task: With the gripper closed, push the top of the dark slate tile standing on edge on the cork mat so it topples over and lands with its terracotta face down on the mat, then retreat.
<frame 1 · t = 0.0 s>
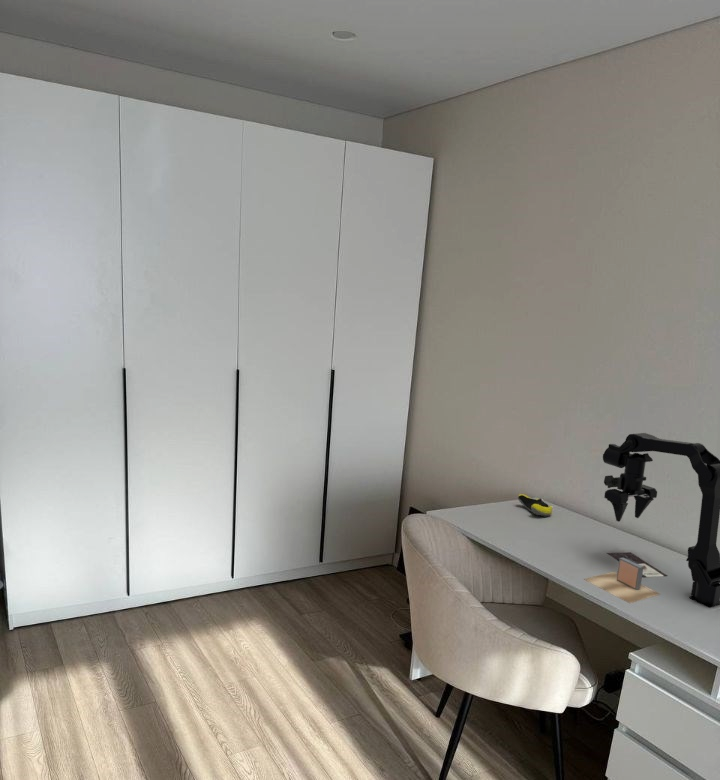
hand: (627, 519, 207), 15 cm above the table, tool pointing down, fingers open, 9 cm apart
chocolate bar: (635, 567, 209), on the table
tile: (628, 584, 193), resting on mat
black and yellow shoe: (535, 512, 254), on the table
mat: (621, 587, 191), on the table
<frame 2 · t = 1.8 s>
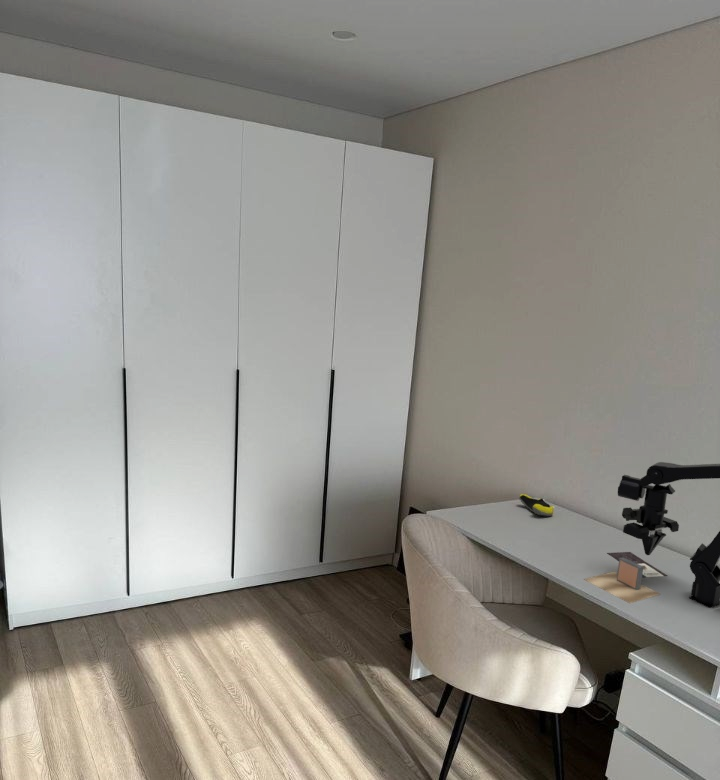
hand: (647, 554, 195), 9 cm above the table, tool pointing down, fingers closed
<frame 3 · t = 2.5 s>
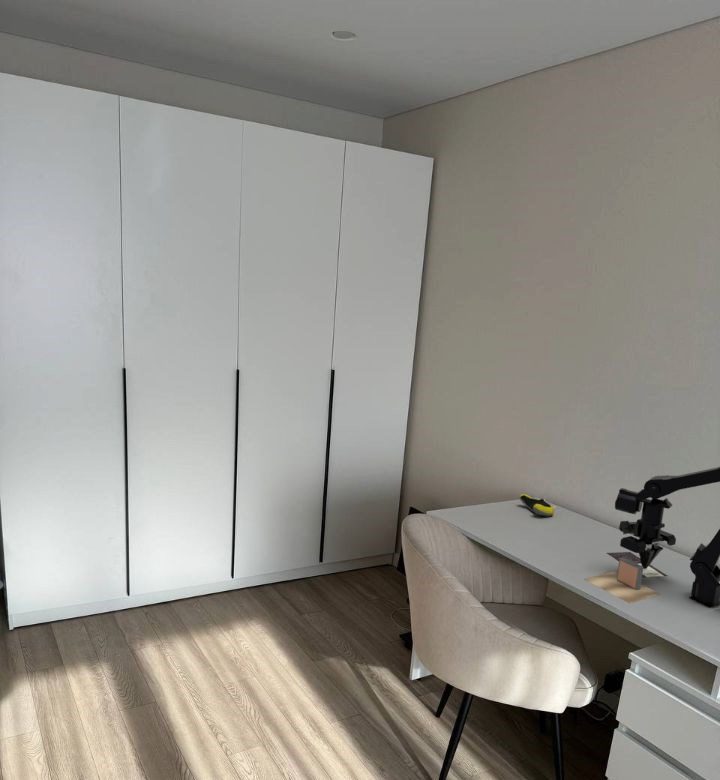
hand: (644, 568, 195), 5 cm above the table, tool pointing down, fingers closed
nothing on the table moved.
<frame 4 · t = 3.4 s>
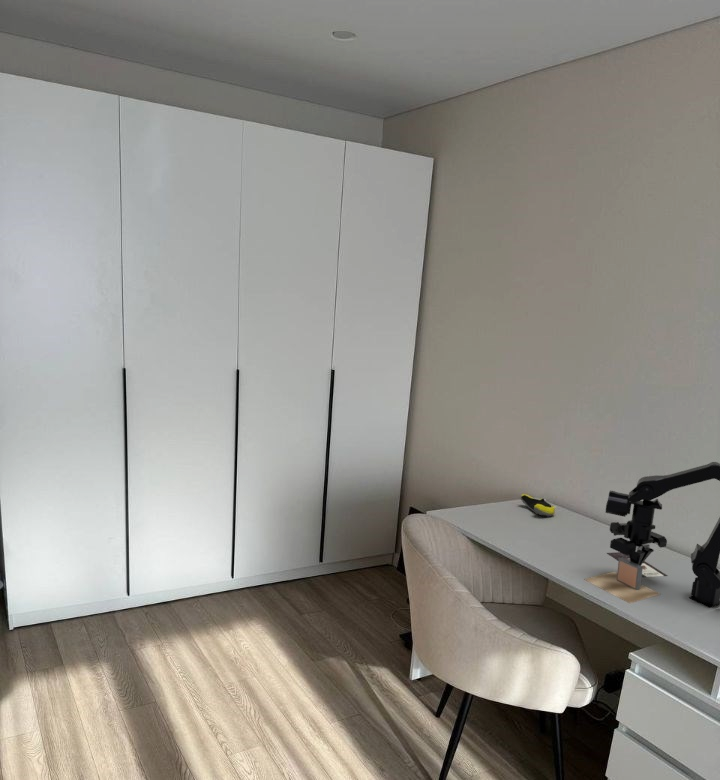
hand: (634, 570, 193), 5 cm above the table, tool pointing down, fingers closed
tile: (628, 584, 193), resting on mat, touching gripper
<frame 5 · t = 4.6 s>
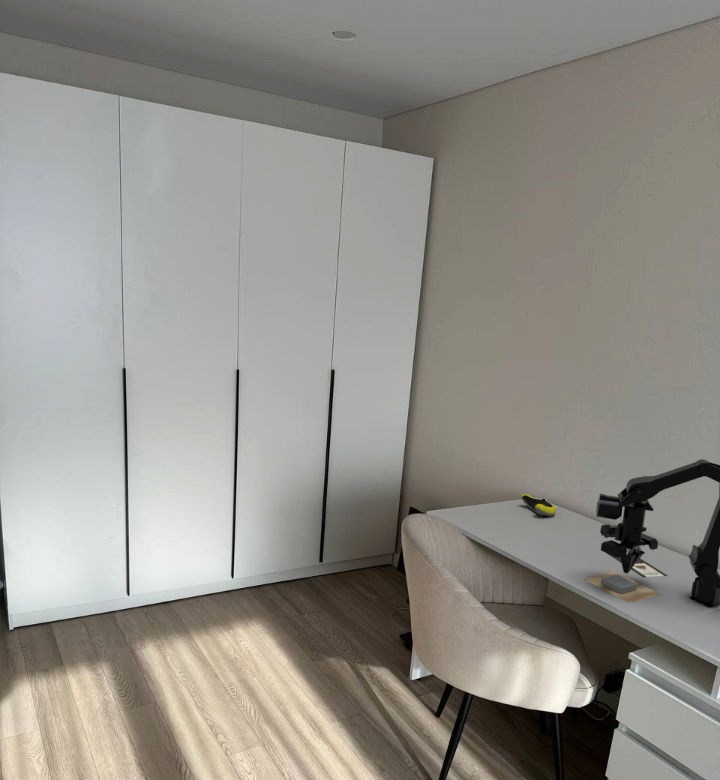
hand: (625, 572, 191), 5 cm above the table, tool pointing down, fingers closed
tile: (626, 582, 192), point 1 cm above the table, tilted 90°, touching mat
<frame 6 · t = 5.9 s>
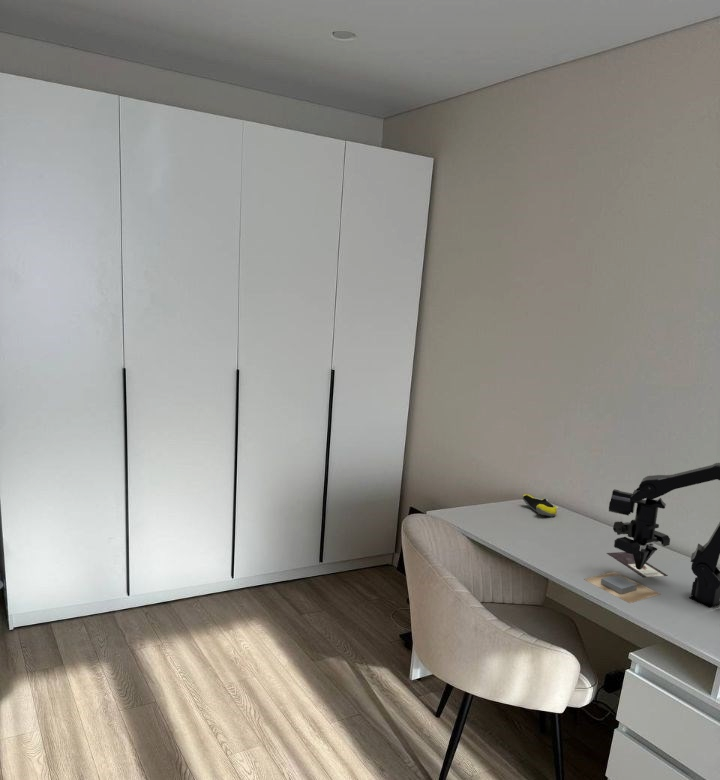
hand: (638, 568, 194), 5 cm above the table, tool pointing down, fingers closed
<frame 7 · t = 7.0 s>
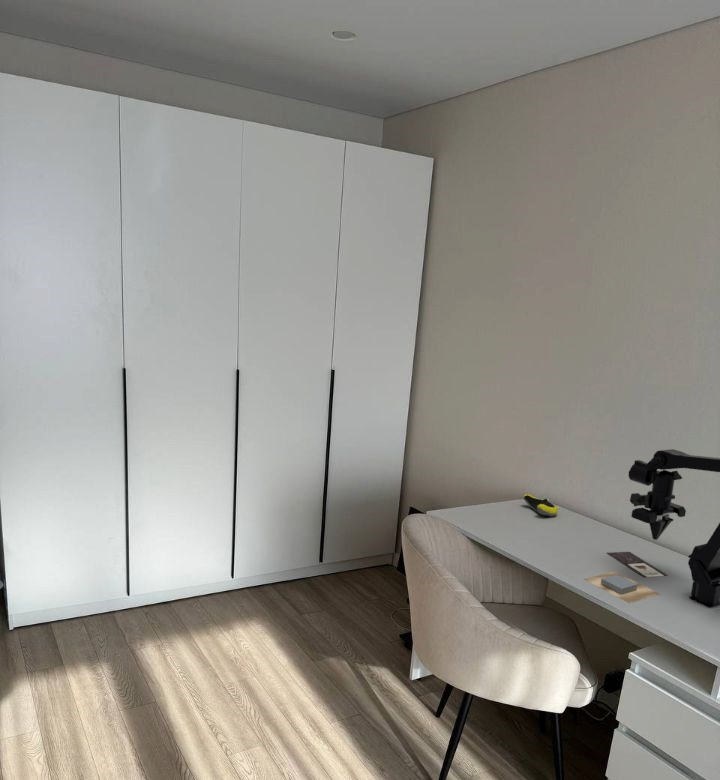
hand: (654, 539, 199), 12 cm above the table, tool pointing down, fingers closed
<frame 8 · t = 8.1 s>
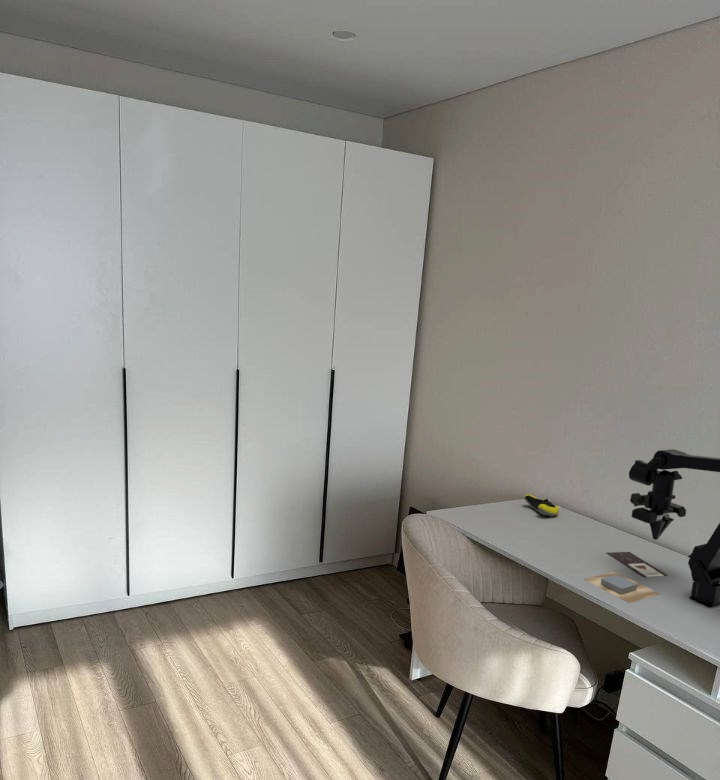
hand: (655, 539, 199), 12 cm above the table, tool pointing down, fingers closed
at the end: tile tilted 90°; tile inside the target area (2.6 cm from its centre), point 1.4 cm above the table; the gripper is holding nothing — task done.
